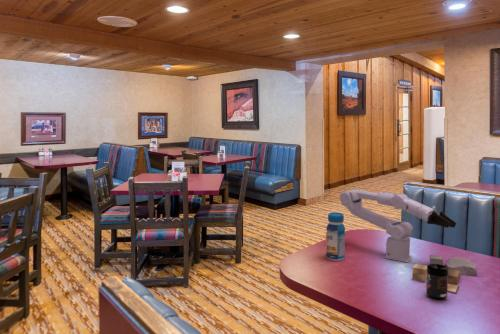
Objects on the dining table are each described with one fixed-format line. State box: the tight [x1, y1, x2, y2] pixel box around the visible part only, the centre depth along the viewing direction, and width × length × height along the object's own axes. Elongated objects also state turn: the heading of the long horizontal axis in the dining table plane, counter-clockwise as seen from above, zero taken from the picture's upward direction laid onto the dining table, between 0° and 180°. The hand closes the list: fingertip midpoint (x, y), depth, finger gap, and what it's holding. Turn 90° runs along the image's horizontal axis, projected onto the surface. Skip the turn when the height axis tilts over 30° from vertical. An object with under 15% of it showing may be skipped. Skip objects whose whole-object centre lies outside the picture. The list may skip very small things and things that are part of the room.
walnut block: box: [448, 268, 461, 286], centre depth 146 cm, size 7×7×4 cm
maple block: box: [412, 263, 427, 283], centre depth 147 cm, size 4×4×5 cm
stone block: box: [445, 256, 478, 277], centre depth 155 cm, size 12×5×10 cm
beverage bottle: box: [325, 212, 346, 262], centre depth 170 cm, size 8×8×20 cm
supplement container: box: [425, 264, 449, 301], centre depth 132 cm, size 7×7×10 cm
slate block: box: [428, 254, 444, 266], centre depth 156 cm, size 4×4×5 cm
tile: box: [447, 284, 460, 295], centre depth 139 cm, size 7×7×1 cm
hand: (452, 225), depth 151 cm, fingers open, 7 cm apart
